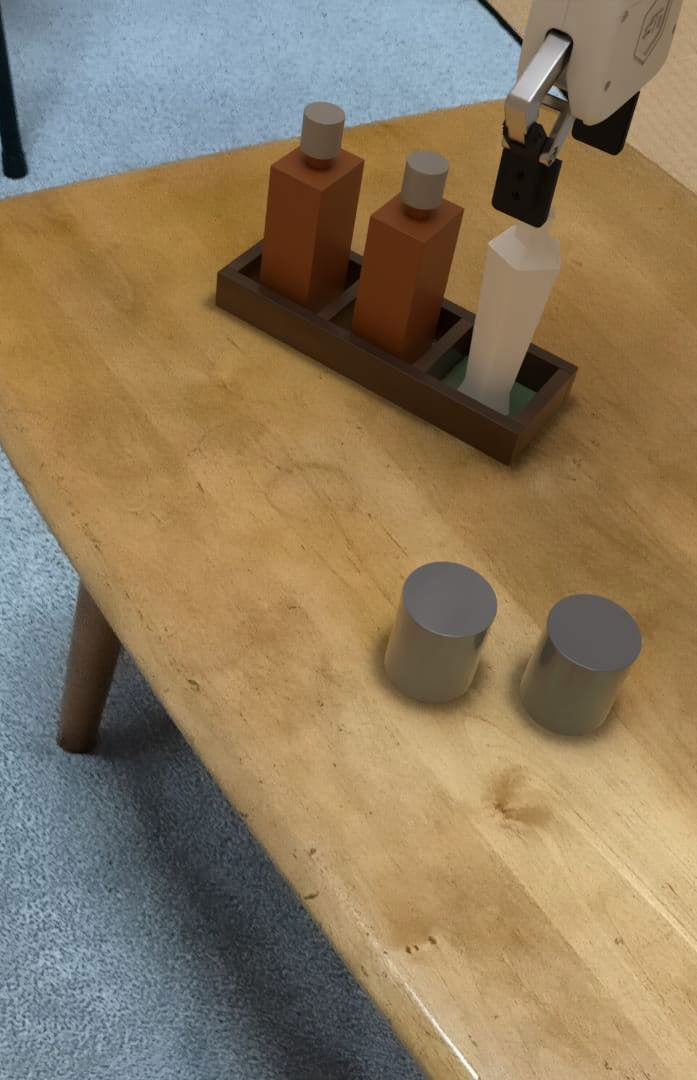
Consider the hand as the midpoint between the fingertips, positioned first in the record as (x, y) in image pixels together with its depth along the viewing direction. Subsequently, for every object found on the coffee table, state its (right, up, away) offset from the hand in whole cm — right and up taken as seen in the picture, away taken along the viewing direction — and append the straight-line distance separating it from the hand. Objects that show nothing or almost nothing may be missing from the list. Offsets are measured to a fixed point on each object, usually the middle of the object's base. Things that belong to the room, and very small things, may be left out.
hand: (558, 179), depth 70 cm
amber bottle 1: (-15, -4, +17) cm, 24 cm away
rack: (-9, -8, +16) cm, 20 cm away
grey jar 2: (0, -30, -1) cm, 30 cm away
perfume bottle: (-3, -11, +13) cm, 18 cm away
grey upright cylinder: (-8, -28, -1) cm, 29 cm away
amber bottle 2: (-9, -8, +15) cm, 19 cm away
